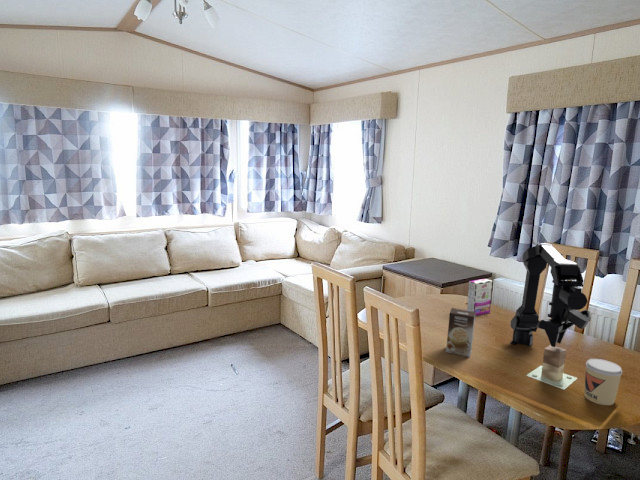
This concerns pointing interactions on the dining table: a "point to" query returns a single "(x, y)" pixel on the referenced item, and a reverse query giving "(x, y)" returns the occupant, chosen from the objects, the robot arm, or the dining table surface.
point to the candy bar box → (479, 296)
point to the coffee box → (460, 332)
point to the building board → (562, 383)
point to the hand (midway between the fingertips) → (556, 344)
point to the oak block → (552, 372)
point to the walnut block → (554, 356)
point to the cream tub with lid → (602, 381)
